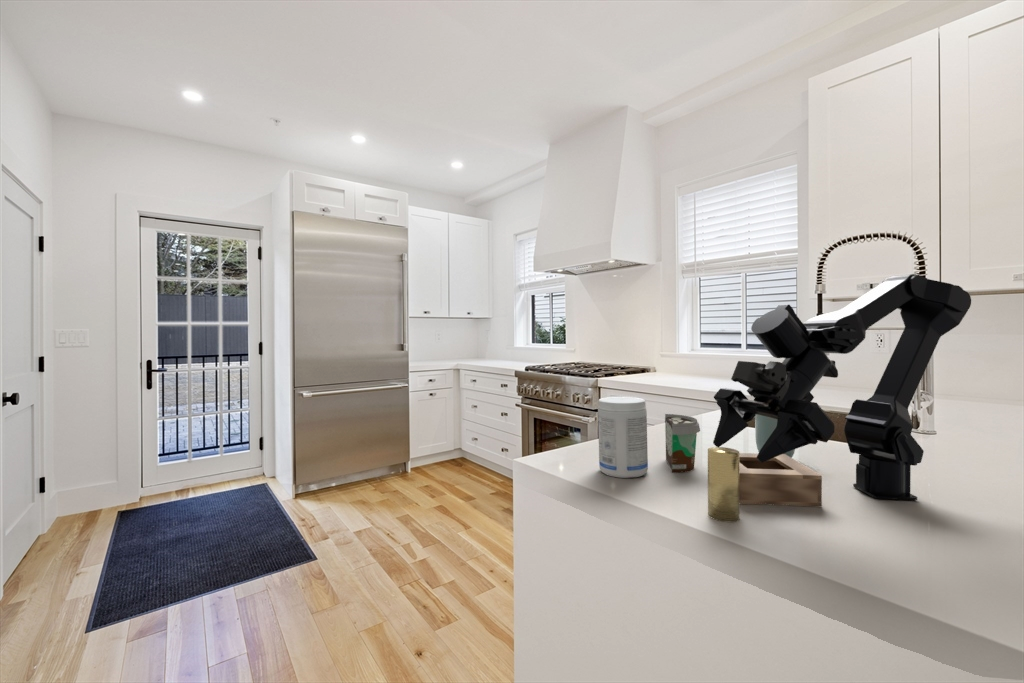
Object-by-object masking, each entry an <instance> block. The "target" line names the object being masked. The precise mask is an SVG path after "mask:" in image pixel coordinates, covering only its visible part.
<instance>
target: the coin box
mask: <svg viewBox="0 0 1024 683" xmlns="http://www.w3.org/2000/svg"><path fill="white" fill-rule="evenodd" d="M757 455H758V453H754V452H753V453H750V452H749V453H743V452H739V457H740V504H743V505H744V504H745V505H762V504H772V505H771V506H788V505H796V506H795V507H813V506H822V504H823V501H822V500H823V497H822V496H823V495H822V494H823V493H822V492H823V491H822V489H823V485H822V484H823V482H822V481H823V480H822V479H823V476H822V474H820V473H818V472H816V471H814V470H813V469H811V468H809V466H806V465H804V464H803V463H801V462H800V461H798V460H796V459H794V458H793V457H792V458H791V457H789V456H787V455H786V454H781V455H779V456H777V457H774V458H772V459H770V460H767V461H765V462H760V461H759V460H758V459H757ZM773 504H774V505H773ZM797 505H798V506H797Z"/></svg>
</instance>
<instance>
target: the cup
mask: <svg viewBox="0 0 1024 683" xmlns="http://www.w3.org/2000/svg"><path fill="white" fill-rule="evenodd" d="M754 422H755V423H754V427H755V428H754V431H755V433H754V434H755V444H756V450H757V452H758V453H759V452H760V450H761V448H762V447H763V445H764V444H765V442H766V441H767V440H768V438H769V437H770V435H771V434H772V432H773V431H774V430H775V428H776V426H777V419H773V418H770V417H767V416H762V415H757V414H756V416H755V417H754ZM795 451H796V449H794V450H791V451H789V452H786V453H784V454H786V455H787V456H789V457H791V458H792V459H793V457H794V454H795Z"/></svg>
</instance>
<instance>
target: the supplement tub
mask: <svg viewBox="0 0 1024 683" xmlns="http://www.w3.org/2000/svg"><path fill="white" fill-rule="evenodd" d="M597 401H598V405H597V424H598V425H597V426H598V428H597V429H598V430H597V431H598V463H599V465H598V466H599V470H600V472H602V474H605V475H607V476H611V477H613V478H621V479H629V478H638V477H639V478H640V477H642V476H644V475H645V474H647V472H648V470H649V464H648V463H649V460H648V459H649V458H648V456H649V454H648V420H647V419H648V418H647V417H648V416H647V404H646V399H644V398H641V397H635V396H608V397H607V396H605V397H602V398H599V399H598V400H597Z"/></svg>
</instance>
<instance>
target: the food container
mask: <svg viewBox="0 0 1024 683" xmlns="http://www.w3.org/2000/svg"><path fill="white" fill-rule="evenodd" d="M664 423H665V424H664V427H665V428H664V432H665V461H666V463H667V465H668V467H669V469H670V471H671V472H670V473H673V474H674V473H675V474H680V473H681V474H683V473H688V472H692V471H694V469H695V464H696V463H695V462H696V461H695V460H696V449H697V448H696V447H697V435H698V434H697V433H700V432H701V428H700V423H699V421H698V419H697V418H695V417H693V416H689V415H682V414H677V413H676V414H674V413H664Z"/></svg>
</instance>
